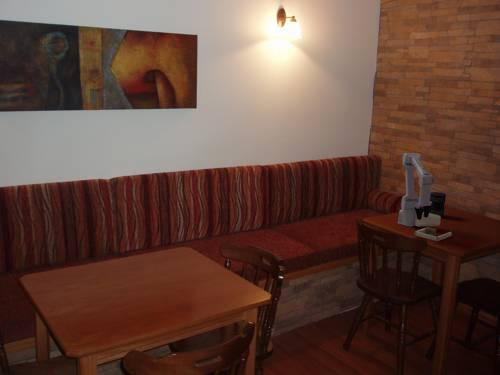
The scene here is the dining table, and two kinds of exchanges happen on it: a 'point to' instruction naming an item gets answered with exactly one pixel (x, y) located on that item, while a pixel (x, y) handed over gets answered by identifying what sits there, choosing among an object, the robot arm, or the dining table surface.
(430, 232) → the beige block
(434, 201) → the green-striped black cylinder
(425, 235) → the bay
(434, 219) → the foam cup
